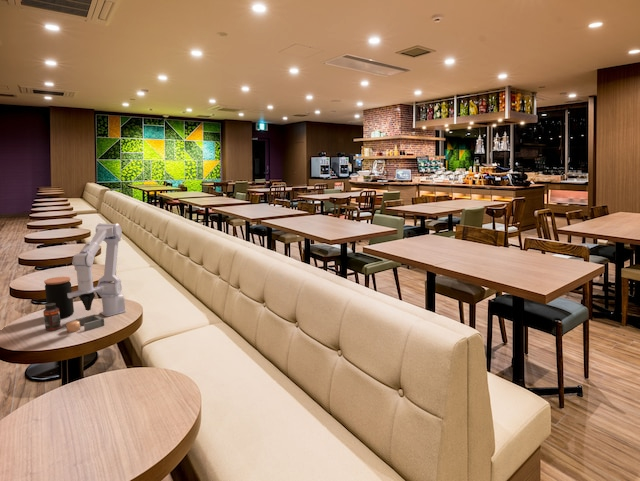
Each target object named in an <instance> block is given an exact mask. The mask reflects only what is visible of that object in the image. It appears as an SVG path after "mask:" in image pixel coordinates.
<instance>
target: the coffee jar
mask: <svg viewBox="0 0 640 481" xmlns="http://www.w3.org/2000/svg"><path fill="white" fill-rule="evenodd" d="M43 283H44V290H45V300H46V304H49V303H56V307H57V308H59V313H60V320H61V319H66V318H69V317H71V316H73V314H74V313H75V308H74V299H73V298H74V297H72V298H68V296H67V293H71V292H73V290H72V284H71V277H69V276H56V277H51V278H47V279H45V280H44V281H43Z"/></svg>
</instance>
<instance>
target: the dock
mask: <svg viewBox="0 0 640 481" xmlns="http://www.w3.org/2000/svg"><path fill="white" fill-rule="evenodd" d="M75 321H79V322H80V326H83V328H84V331H89V330H94V329H98V328H100V327H103V326H105V319H104V318H103V317H101V316H98V315H97V314H91V315H87V316H84V317H83V316H82V317H80V318H76V320H75Z"/></svg>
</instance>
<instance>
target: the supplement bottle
mask: <svg viewBox="0 0 640 481" xmlns="http://www.w3.org/2000/svg"><path fill="white" fill-rule="evenodd" d="M42 313H43V319H44V321H43V322H44V328H45V330H46V331H47V332H48V331H49V332H50V331H56V330H59V329H60V328H62V322H61V319H60V313H59V308H57V307H56V303H49V304H47V303H46V304H45V305H44V310H43V311H42Z"/></svg>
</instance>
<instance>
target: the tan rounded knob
mask: <svg viewBox="0 0 640 481" xmlns="http://www.w3.org/2000/svg"><path fill="white" fill-rule="evenodd" d="M65 326H66V331H67V333H76V332H79V331H81V325H80V322H79V321H76V320H72V321H69V322H66V325H65Z"/></svg>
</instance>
